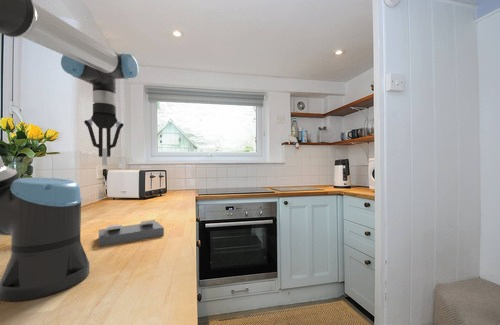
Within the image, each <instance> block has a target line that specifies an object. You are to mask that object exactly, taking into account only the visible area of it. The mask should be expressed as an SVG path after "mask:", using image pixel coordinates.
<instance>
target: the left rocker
mask: <svg viewBox="0 0 500 325" xmlns="http://www.w3.org/2000/svg"><path fill="white" fill-rule="evenodd" d="M118 228H122V224H121V223H120V224H119V223H118V224H117V223H116V224H110V225H107V227H106V229H108V230H111V229H118Z"/></svg>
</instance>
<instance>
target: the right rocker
mask: <svg viewBox="0 0 500 325" xmlns="http://www.w3.org/2000/svg"><path fill="white" fill-rule="evenodd" d="M155 222H156V219H150V220H143V221H142V220H141V221H140V222H139V224H141V225H143V224H150V223H155Z"/></svg>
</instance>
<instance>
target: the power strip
mask: <svg viewBox="0 0 500 325" xmlns="http://www.w3.org/2000/svg"><path fill="white" fill-rule="evenodd" d="M164 234H165V233H164V226H162V225H161V224H160V223H159V222H157V221H155V223H150V224H143V225H141V223H139V224H138V223H137V224H130V225H124V226H122V228H118V229H111V230H108V229H107V228H101V229H98V245H99V246H98V247H99V248H101V247H107V246H113V245H118V244H119V245H120V244H124V243H130V242H135V241H140V240H146V239H152V238H158V237H163V236H165V235H164Z"/></svg>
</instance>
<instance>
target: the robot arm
mask: <svg viewBox="0 0 500 325" xmlns="http://www.w3.org/2000/svg"><path fill="white" fill-rule="evenodd" d="M0 34H2V35H4V36H6V37H9V38H20V37H22V38H23V39H26V40H29V41H30V42H33V43H35V44H38V45H40V46H41V47H44V48H47V49H49V50H51V51H54V52H56V53H58V54H60V55H62V56H61V59H60V66H61V67H62V70H63V71H64V72H65V73H67V74H68V75H71V76H72V77H73V78H77V79H79V80H80V81H84V82H86V83H89V85H92V103H93V104H92V115H91V117H90V118H89V119H87V120H84V121H83V122H84V125H85V126H86V128H87V129H88V133H89V137H90V139H91V144H92V146H93V147H95V148H97V149H98V157H100V158H102V159H101V160H102V161H101V165H102V166H108V158H109V157H111V149H112V148H115V147H117V142H118V139H119V136H120V133H121V130H122V128H123V127H124V123H121V122H119V121H118V118H117V107H116V105H117V94H116V85H117V84H116V83H117V80H122V79H123V80H126V79H127V80H128V79H135V78H136V77H137V76H138V73H139V66H138V61H137V60H136V58H135V57H134V55H132V54H130V53H118V52H116V51H114V50H112V49H111V48H109V47H107V46H106V45H104V44H103V43H101V42H99V41H97V40H95V38H92V37H91V36H90V35H87V34H86V33H84V32H83V31H81V30H80V29H78V28H76V27H74V26H72V25H71V24H69V23H68V22H66V21H64V20H63V19H61V18H60V17H58V16H56V15H55V14H53V13H52V12H50V11H49V10H47V9H45V8H43V7H41V6H40V5H39V4H36V3H35V2H33V0H0ZM93 124H94V125H95V126H96V127H97V128H98V143H97V140H96V136H95V133H94V130H93V127H92V125H93ZM115 125H116V126H115ZM114 126H115V127H116V130H115V134H114V138H113V140H112V141H111V139H112V138H111V131H112V130H111V129H112V128H113V127H114ZM103 129H105V130H106V148H105V147H104V148H103V146H104V145H103V144H104V141H103V137H104V136H103V135H104V134H103V132H104V130H103ZM111 142H112V144H111ZM81 220H82V196H81V186H80V185H79V183H78V182H77V181H74V180H71V179H68V178H67V179H66V178H59V177H22V178H20V177H19V174H18V171H17V170H16V169H14V168H11V167H9V166H6V165H5V163H4V161H3V158H2V156H1V155H0V236H10V238H11V239H10V240H11V241H10V242H11V253H10V258H9V259H8V261H7V262H8V263H6V264H7V265H6V267H5V269H4V271H3V274H2V276H1V278H0V300H3V301H5V302H6V301H7V302H18V301H27V300H28V301H29V300H34V299H39V298H43V297H46V296H50V295H54V294H57V293H59V292H62V291H64V290H66V289H69V288H71V287H73V286H75V285H77V284H79V283H81V282H82V281H83V280H85V279H86V278H87V277H88V276H89V274H90V261H89V259H88V257H87V254H86V252H85V249H84V246H83V245H82V242H81V231H82V230H81V223H82V221H81Z"/></svg>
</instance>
